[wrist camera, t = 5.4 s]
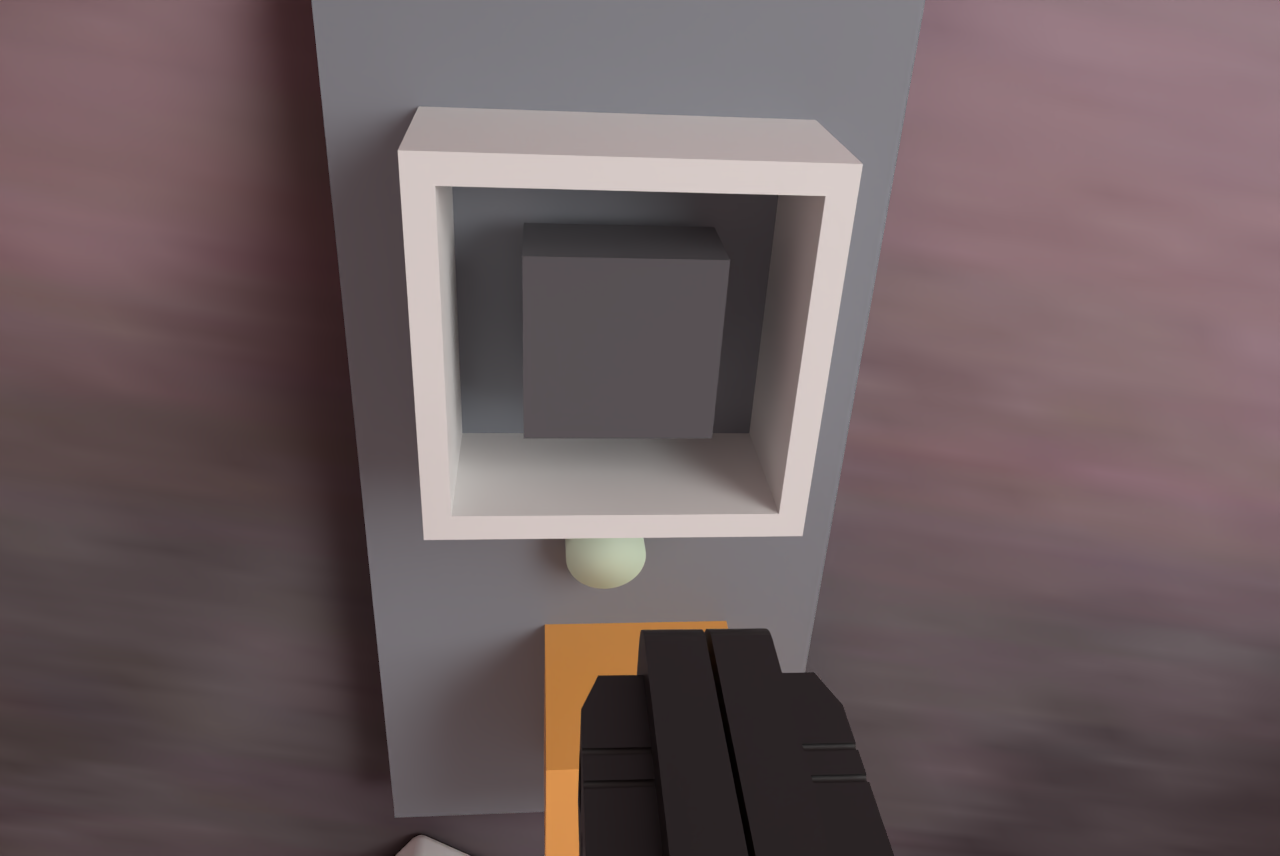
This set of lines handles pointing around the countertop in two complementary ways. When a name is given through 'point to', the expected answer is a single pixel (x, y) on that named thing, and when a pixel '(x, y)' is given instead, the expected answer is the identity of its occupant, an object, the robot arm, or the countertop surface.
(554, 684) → the orange cube
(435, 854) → the medicine bottle
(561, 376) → the button
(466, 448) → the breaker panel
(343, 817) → the countertop surface
